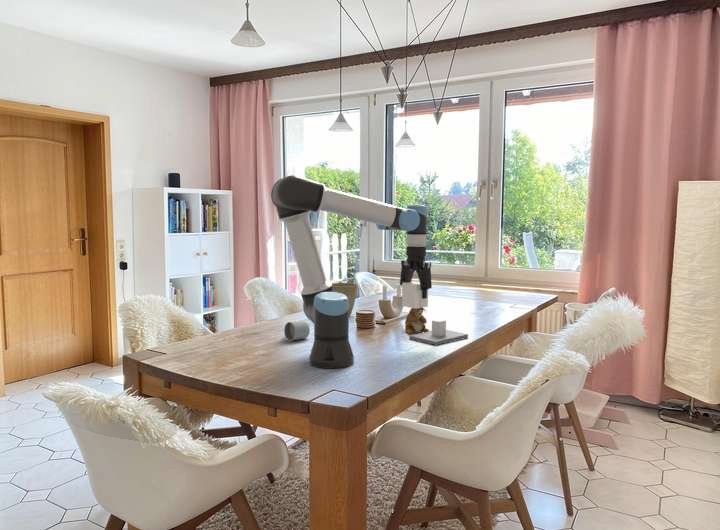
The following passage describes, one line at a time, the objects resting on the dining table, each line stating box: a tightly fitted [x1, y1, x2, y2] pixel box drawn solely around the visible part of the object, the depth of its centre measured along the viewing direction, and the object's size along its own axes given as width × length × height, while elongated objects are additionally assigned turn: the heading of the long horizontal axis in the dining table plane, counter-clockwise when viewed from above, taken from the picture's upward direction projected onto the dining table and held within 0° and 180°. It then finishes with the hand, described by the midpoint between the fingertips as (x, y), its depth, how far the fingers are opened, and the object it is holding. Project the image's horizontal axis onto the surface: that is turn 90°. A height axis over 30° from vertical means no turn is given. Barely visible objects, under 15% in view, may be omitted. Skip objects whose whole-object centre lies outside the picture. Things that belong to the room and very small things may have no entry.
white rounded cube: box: [401, 281, 429, 309], centre depth 199 cm, size 7×7×9 cm
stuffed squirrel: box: [404, 307, 430, 335], centre depth 227 cm, size 10×14×13 cm
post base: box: [408, 318, 469, 346], centre depth 213 cm, size 20×14×8 cm
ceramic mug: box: [283, 320, 311, 342], centre depth 212 cm, size 11×8×8 cm
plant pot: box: [331, 282, 358, 317], centre depth 261 cm, size 15×15×16 cm
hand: (415, 305), depth 200 cm, fingers closed on white rounded cube, 7 cm apart
